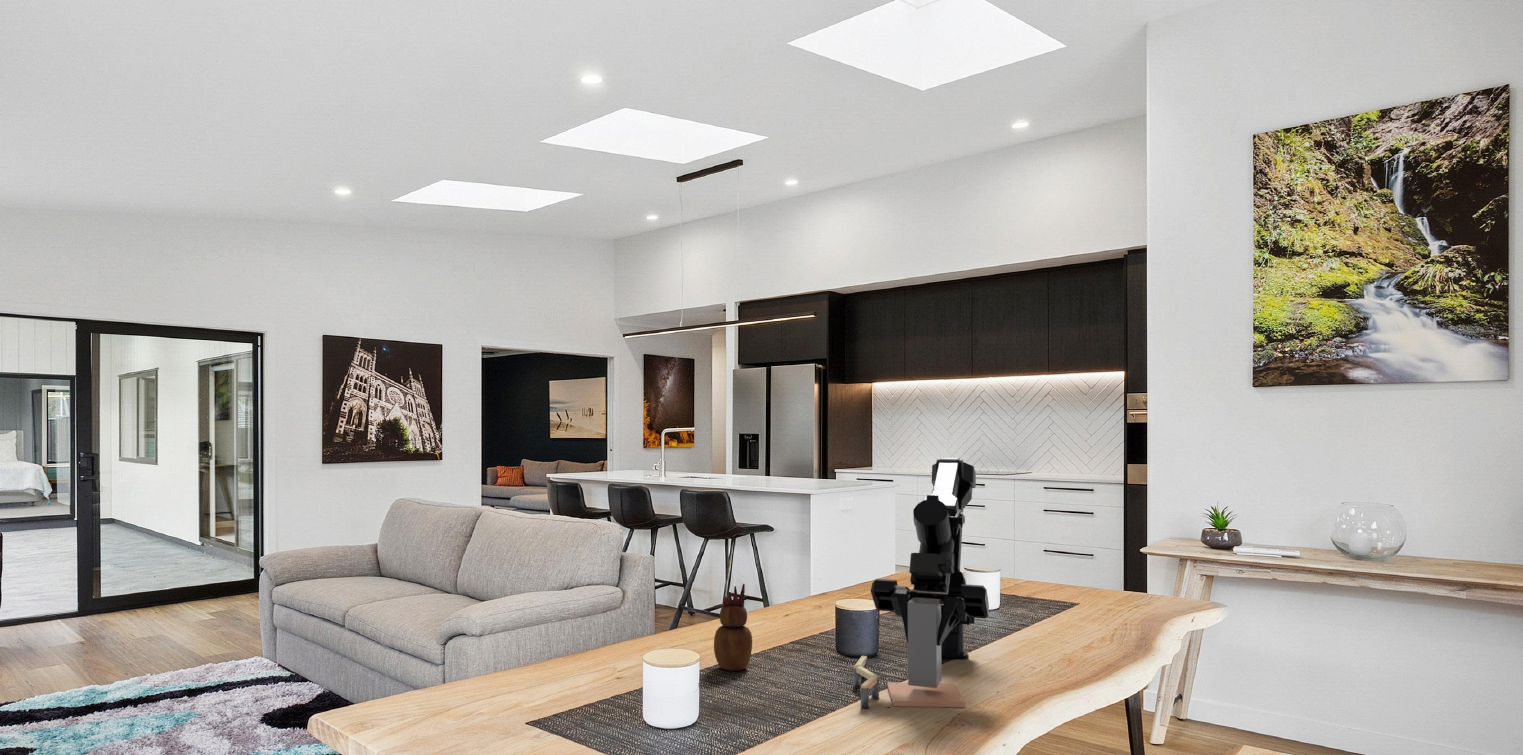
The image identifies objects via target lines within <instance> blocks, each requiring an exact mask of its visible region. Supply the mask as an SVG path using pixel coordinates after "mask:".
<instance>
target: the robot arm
mask: <svg viewBox="0 0 1523 755" xmlns="http://www.w3.org/2000/svg"><path fill="white" fill-rule="evenodd" d="M976 474H977V473H976V469H975V467H974V465H971V464H969V463H967V462H965V461H964V460H963V458H960V457H939V458H936V462H935V463H934V464H932V465H931V484H932V486H933V487H932V491H931V494H927V495H926V496H925V497H924V498H923V499H922V501H920V502H919V503H917V504H916V505H915V507H914V508H913V511H912V513H913V518H912V519H913V523H914V524H913V525H914V526H915V530H916V537H917V540H918V542H919V543H920V544H919V550H918V552H911V553H910V558H909V559H910V560H909V571H908V572H909V574H910V579H909V580H910V585H911V586H912V585H913V587H912V588H909V587H908V586H905V585H898V581H897V579H884V578H883V579H882V578H876V579H875V580H873V582H872V583H871V586H870V593H871V598H872V601H873V603H874V607H875V609H876V610H878V611H879V612H881V611H882V612H892V613H893V612H894V614H895V615H896V616H897V617H901V620H902V623H903V627H904V634H905V640H906V643H907V644H908V602H909V601H910V600H911V599H912V598H913V597H918V598H932V599H941V621H940V626H939V630H938V636H937V645H938V646H940V645H941V659H947V658H948V659H969V658H970V655H969V654H968V652H967V651H966V650H965V625H966V626H970V625H972V624H975V622H976V621H975V619H983V620H985V619H987V618H989V613H990V612H989V610H990V609H989V608H990V606H989V604H990V602H989V596H988V591H987V588H986V587H985V586H984V585H979V584H967V583H966V578H965V577H964V575H963V573H962V571H961V559H962V558H961V557H962V541H963V540H962V537H963V526H964V524H965V523H966V516H965V515H964V509H965V508H966V507H967V505H968V504H969V503H970V501H972V499H973V498H972V497H973V489H976V485H977V482H976V481H977V477H976Z"/></svg>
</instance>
